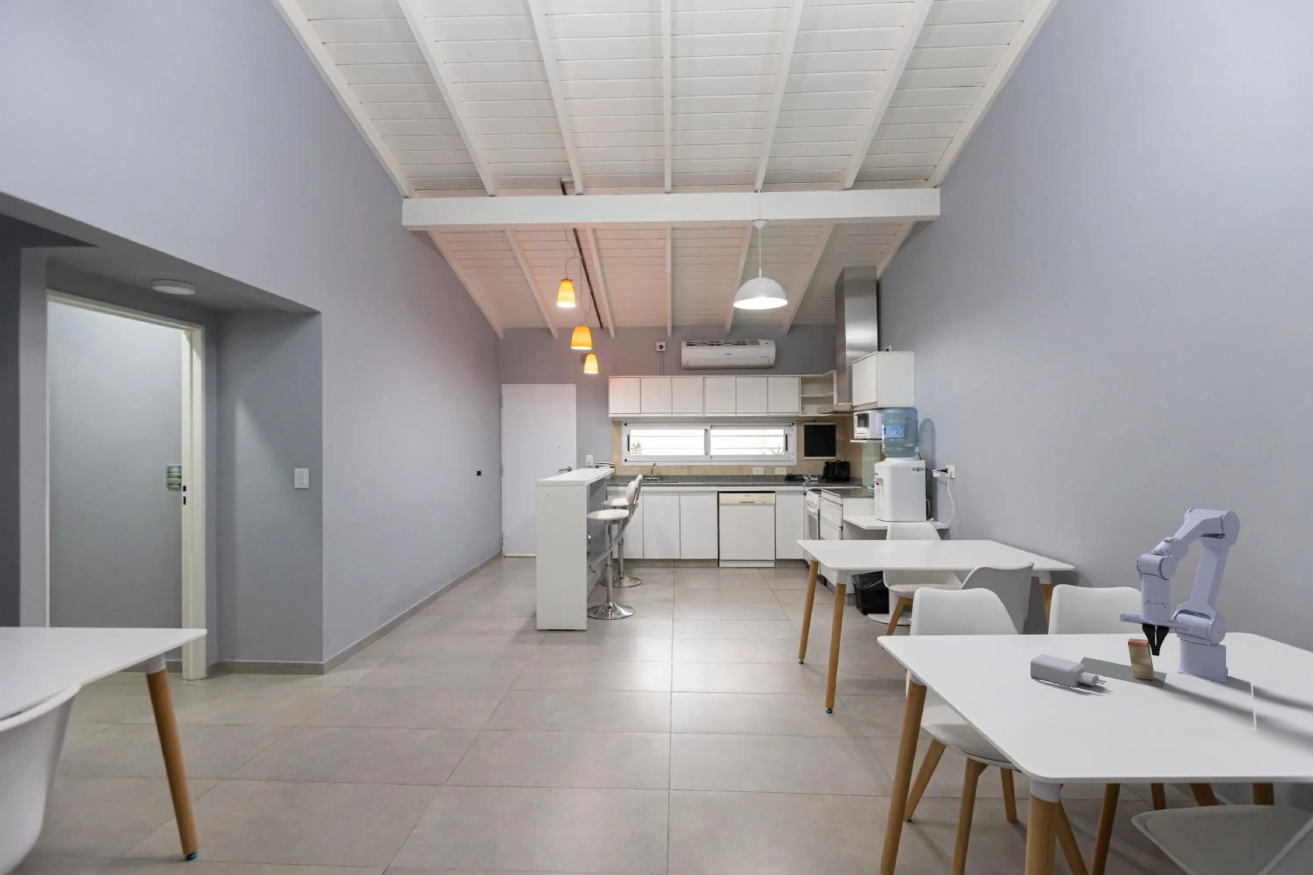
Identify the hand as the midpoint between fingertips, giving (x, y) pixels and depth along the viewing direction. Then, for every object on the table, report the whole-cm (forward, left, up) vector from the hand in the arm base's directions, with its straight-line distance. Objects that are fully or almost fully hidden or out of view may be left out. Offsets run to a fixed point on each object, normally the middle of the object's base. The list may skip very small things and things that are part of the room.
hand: (1155, 654), depth 157 cm
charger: (+16, +16, -7) cm, 24 cm away
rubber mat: (+7, -1, -7) cm, 10 cm away
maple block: (+2, 0, -6) cm, 7 cm away
